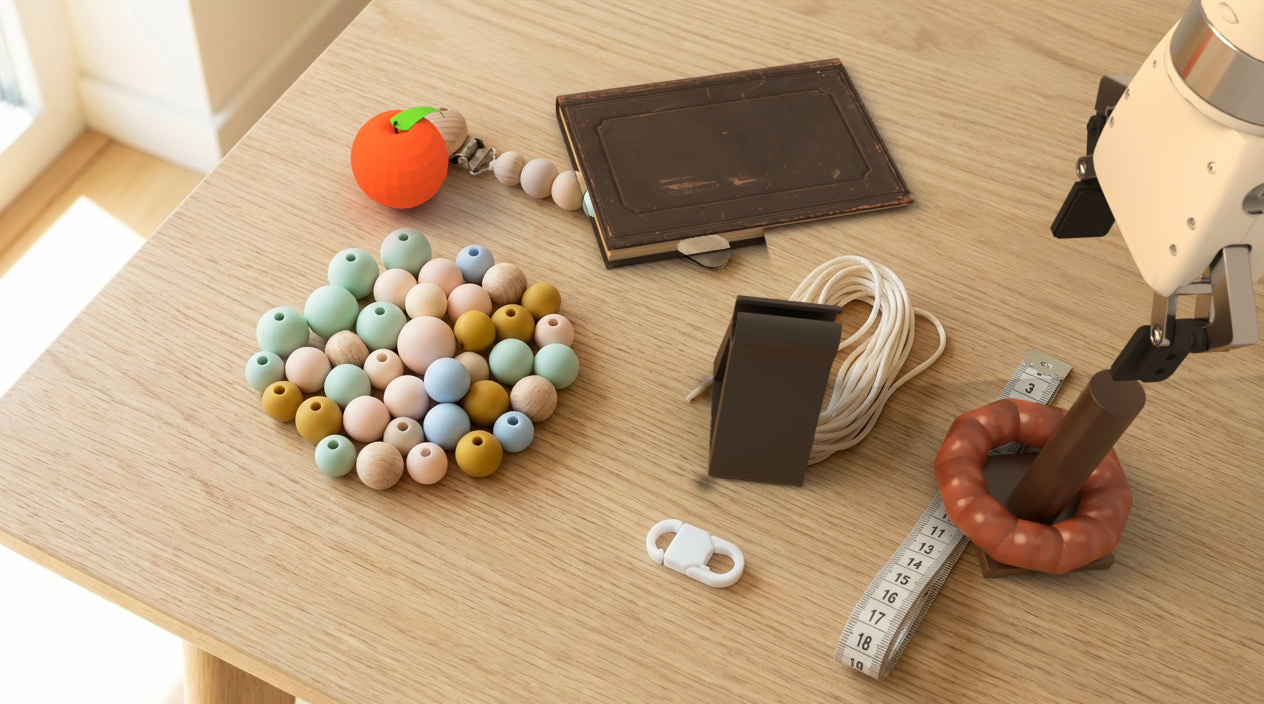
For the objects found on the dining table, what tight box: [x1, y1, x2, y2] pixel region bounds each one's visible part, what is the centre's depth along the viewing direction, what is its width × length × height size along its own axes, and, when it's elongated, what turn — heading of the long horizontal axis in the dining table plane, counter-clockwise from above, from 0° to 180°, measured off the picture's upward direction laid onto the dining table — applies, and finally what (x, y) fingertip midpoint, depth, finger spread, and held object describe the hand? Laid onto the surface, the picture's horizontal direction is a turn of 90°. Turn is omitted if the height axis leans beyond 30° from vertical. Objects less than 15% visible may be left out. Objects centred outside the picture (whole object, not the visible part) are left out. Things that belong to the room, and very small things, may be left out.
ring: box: [932, 397, 1134, 575], centre depth 75 cm, size 12×12×3 cm
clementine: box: [350, 105, 450, 210], centre depth 87 cm, size 8×7×7 cm
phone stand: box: [707, 294, 843, 487], centre depth 75 cm, size 9×6×12 cm, turn 174°
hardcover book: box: [555, 57, 915, 270], centre depth 92 cm, size 16×23×2 cm
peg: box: [972, 368, 1147, 579], centre depth 71 cm, size 8×8×14 cm
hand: (1106, 301), depth 66 cm, fingers open, 9 cm apart
